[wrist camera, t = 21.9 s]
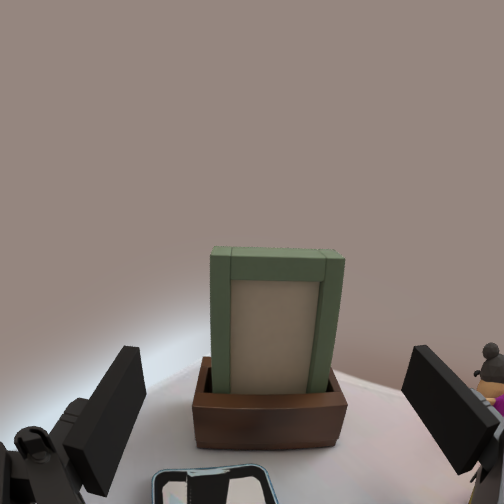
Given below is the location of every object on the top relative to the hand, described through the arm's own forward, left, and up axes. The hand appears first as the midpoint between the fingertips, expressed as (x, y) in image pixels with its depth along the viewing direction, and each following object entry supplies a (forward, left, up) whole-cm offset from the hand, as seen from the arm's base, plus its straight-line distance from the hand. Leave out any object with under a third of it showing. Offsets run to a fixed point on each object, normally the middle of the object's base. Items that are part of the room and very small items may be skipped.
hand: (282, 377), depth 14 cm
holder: (0, +7, -10) cm, 12 cm away
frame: (0, +7, -9) cm, 11 cm away
